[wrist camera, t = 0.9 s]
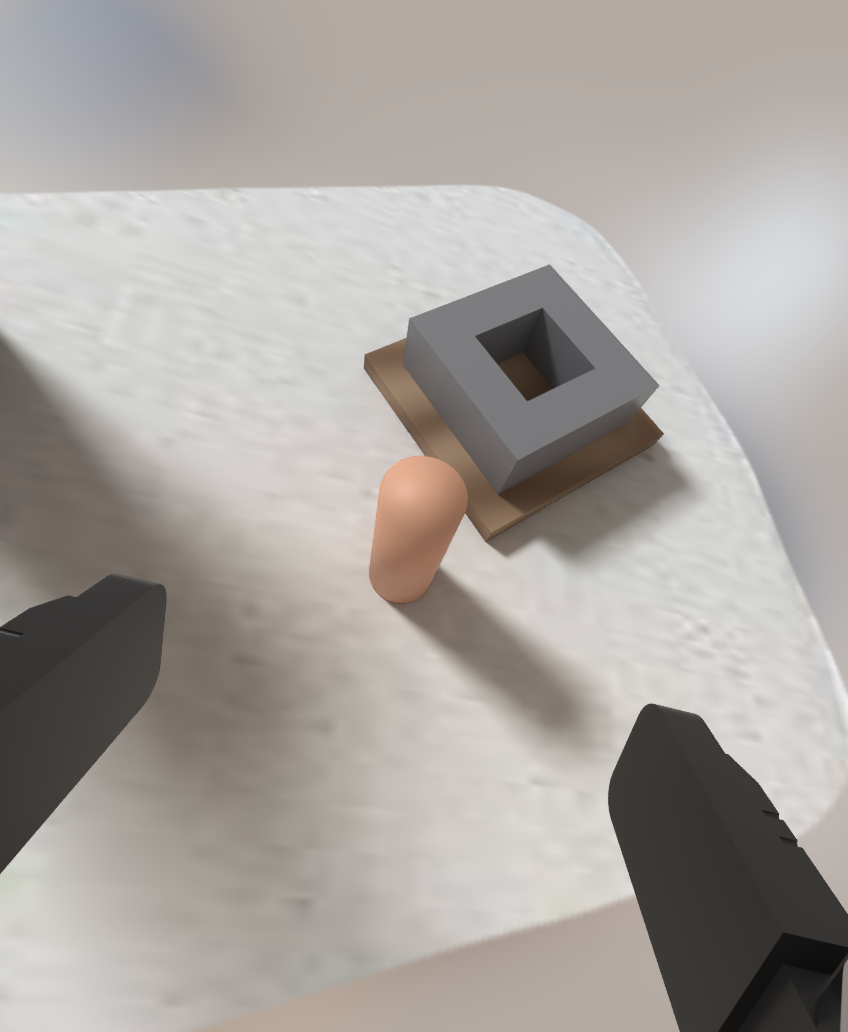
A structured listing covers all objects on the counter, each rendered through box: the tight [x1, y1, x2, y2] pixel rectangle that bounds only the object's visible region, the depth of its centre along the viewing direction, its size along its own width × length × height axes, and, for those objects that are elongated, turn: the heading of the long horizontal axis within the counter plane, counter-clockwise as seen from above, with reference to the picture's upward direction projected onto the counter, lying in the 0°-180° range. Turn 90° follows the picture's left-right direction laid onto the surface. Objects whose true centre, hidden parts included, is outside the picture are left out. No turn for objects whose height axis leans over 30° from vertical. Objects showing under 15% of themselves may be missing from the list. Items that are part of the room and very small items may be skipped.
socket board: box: [364, 338, 664, 542], centre depth 40 cm, size 16×16×2 cm
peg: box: [369, 456, 468, 603], centre depth 29 cm, size 4×4×11 cm
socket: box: [403, 265, 659, 494], centre depth 37 cm, size 12×12×4 cm
